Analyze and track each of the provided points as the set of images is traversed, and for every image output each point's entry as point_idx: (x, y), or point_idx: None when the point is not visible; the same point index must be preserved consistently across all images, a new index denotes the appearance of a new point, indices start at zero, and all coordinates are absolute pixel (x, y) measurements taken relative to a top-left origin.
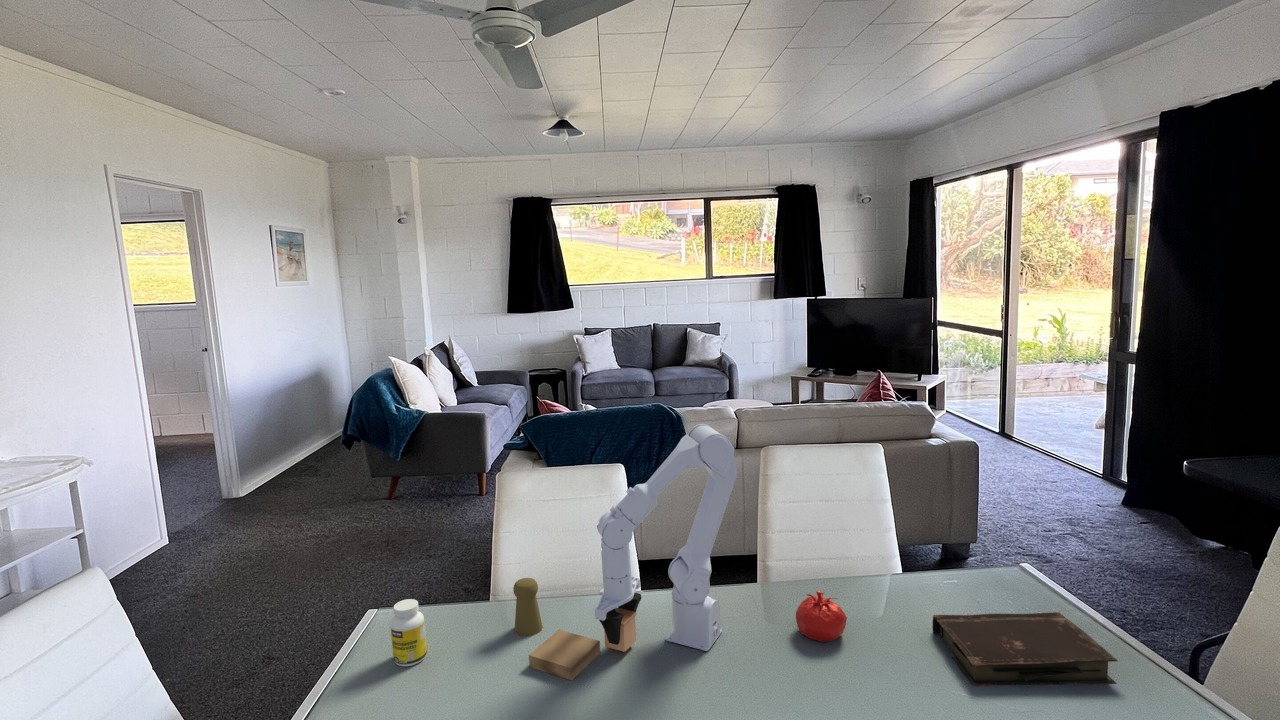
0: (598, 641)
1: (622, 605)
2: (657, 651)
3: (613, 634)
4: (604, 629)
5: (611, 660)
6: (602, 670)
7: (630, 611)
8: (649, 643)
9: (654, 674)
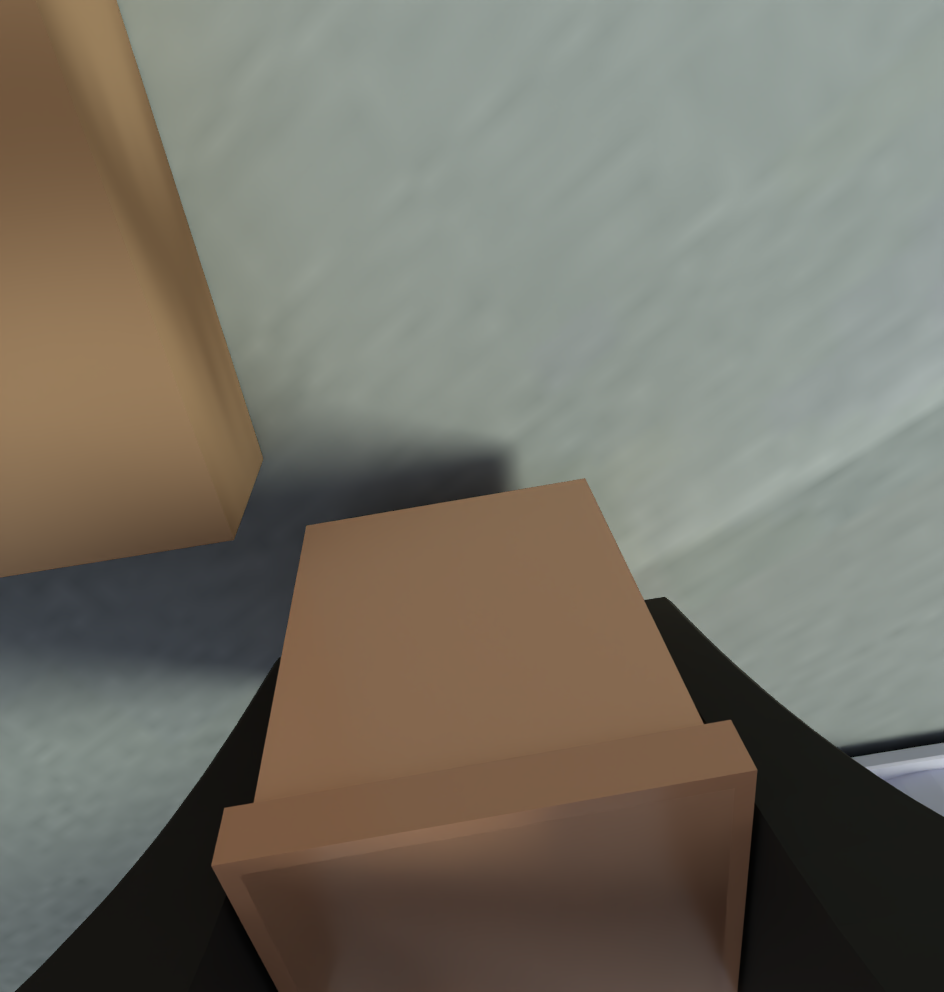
0: (210, 538)
1: (789, 949)
2: None
3: None
4: (175, 818)
5: (246, 622)
6: (70, 655)
7: (718, 989)
8: None
9: None
